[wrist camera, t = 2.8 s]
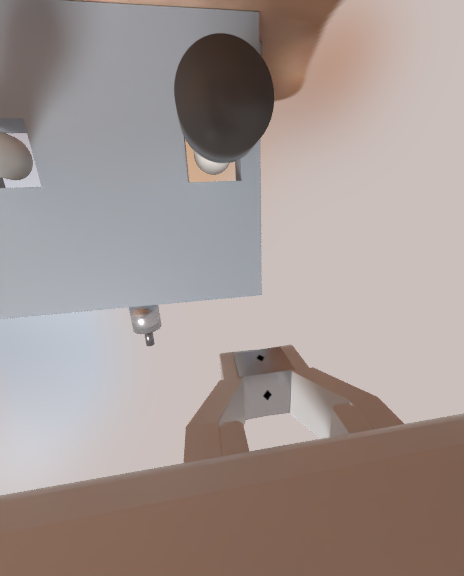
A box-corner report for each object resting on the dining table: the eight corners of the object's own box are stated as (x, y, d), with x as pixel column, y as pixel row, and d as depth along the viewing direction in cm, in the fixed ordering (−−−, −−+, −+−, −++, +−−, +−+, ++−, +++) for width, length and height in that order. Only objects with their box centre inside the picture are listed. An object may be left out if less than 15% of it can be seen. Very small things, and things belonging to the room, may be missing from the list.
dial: (123, 306, 22) (132, 351, 24) (152, 305, 22) (159, 350, 24) (134, 296, 25) (142, 338, 26) (160, 295, 25) (166, 337, 26)
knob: (167, 30, 10) (180, 154, 11) (274, 35, 10) (273, 153, 12) (182, 123, 19) (188, 184, 20) (237, 123, 20) (239, 182, 21)
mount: (-145, -13, 14) (-13, 320, 20) (272, 12, 17) (271, 294, 24) (-24, 69, 21) (44, 292, 28) (249, 75, 25) (253, 275, 31)
